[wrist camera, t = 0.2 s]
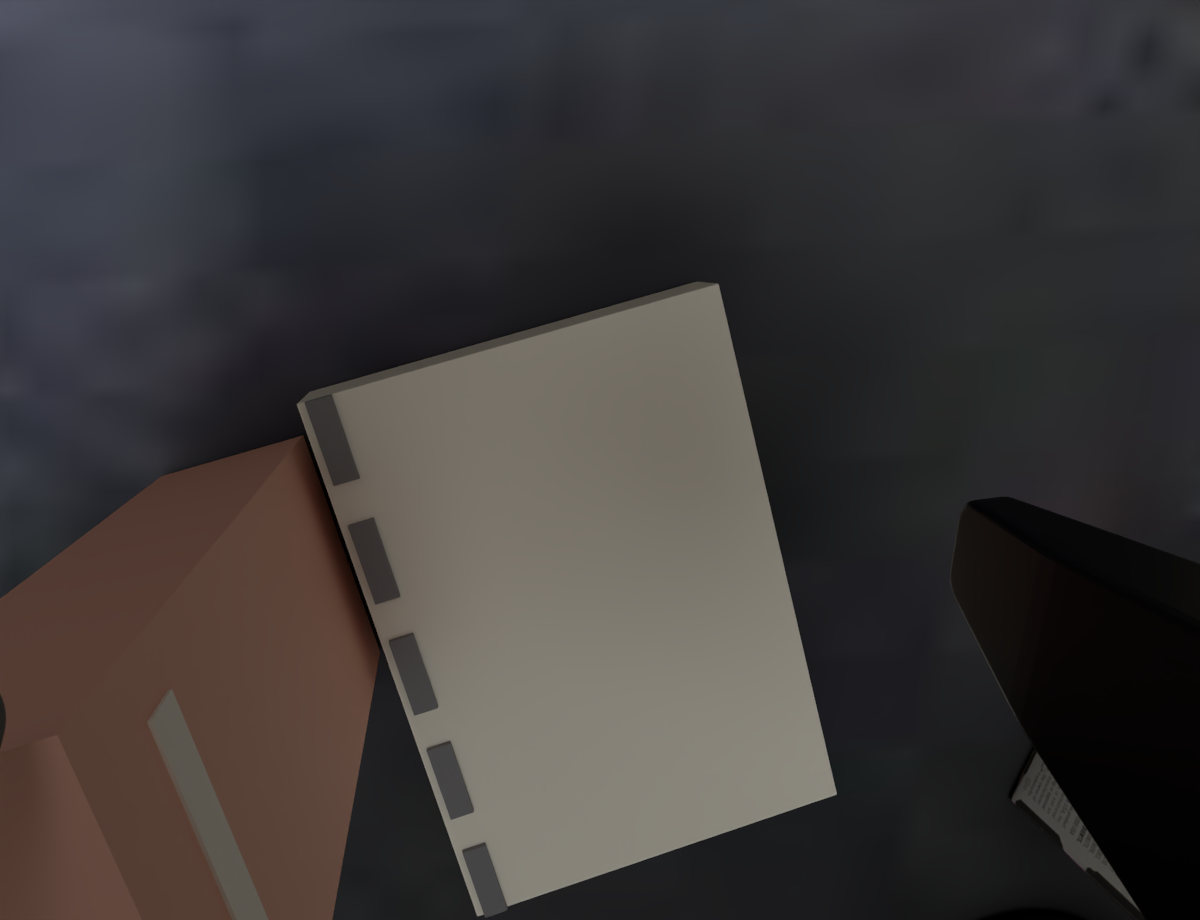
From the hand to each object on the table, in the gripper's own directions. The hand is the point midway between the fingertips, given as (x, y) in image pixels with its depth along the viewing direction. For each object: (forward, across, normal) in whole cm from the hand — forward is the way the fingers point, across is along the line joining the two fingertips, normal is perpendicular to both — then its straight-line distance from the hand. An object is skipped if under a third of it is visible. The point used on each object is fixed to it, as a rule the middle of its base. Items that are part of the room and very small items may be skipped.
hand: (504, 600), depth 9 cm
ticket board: (+13, -2, +10) cm, 17 cm away
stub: (+14, +5, +8) cm, 17 cm away
